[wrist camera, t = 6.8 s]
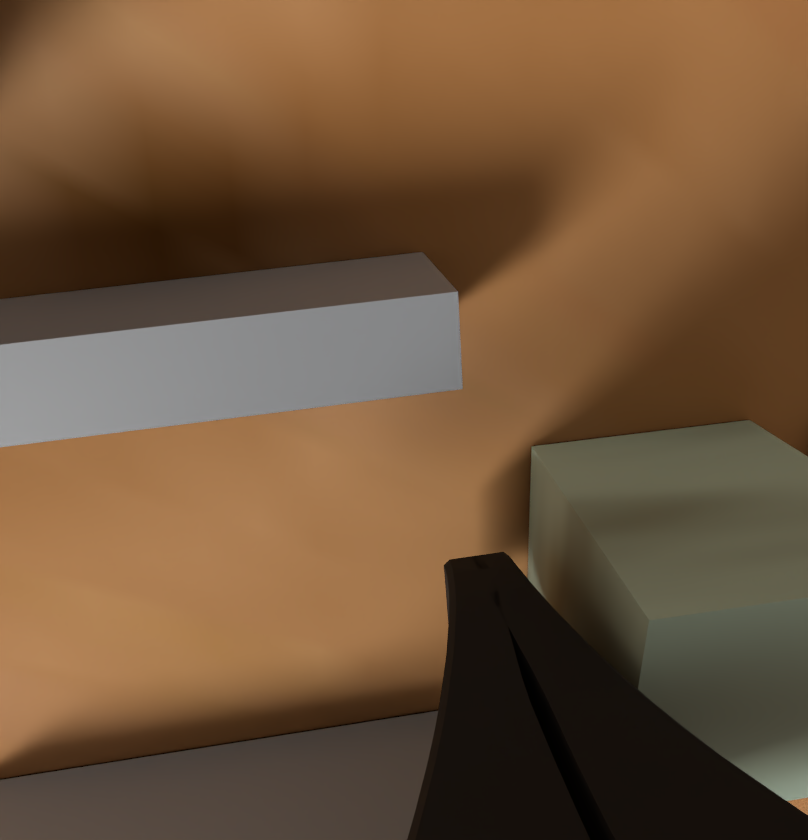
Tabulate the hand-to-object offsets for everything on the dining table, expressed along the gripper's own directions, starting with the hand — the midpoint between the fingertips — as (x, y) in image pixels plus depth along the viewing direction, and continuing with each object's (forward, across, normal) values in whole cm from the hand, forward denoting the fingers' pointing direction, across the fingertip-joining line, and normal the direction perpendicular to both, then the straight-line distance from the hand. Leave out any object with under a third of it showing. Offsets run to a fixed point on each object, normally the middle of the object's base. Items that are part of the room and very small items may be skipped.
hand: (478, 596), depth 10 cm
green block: (+1, -4, 0) cm, 4 cm away
